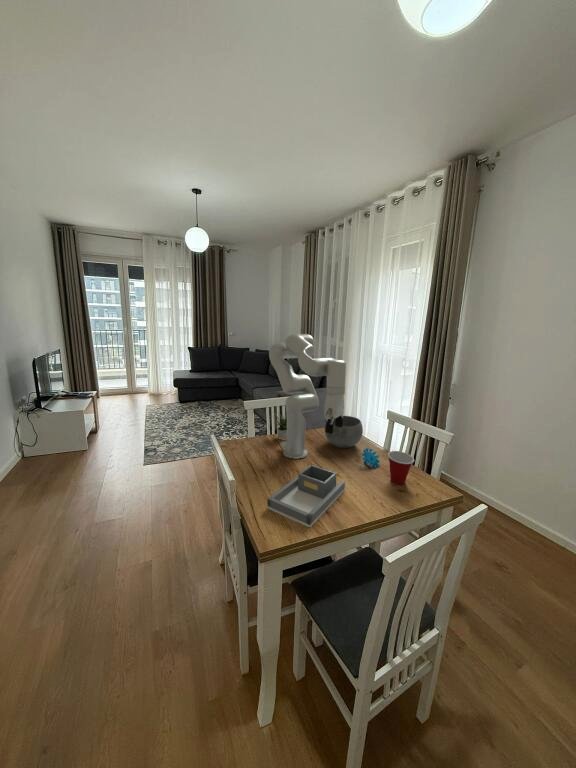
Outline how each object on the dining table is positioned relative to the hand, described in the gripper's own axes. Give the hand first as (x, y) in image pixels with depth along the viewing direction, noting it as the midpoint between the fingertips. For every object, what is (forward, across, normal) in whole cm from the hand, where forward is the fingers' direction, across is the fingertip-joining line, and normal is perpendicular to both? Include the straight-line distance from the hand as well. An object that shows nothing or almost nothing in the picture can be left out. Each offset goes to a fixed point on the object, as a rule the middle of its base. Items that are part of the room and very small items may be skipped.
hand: (334, 429), depth 129 cm
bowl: (+22, -37, -11) cm, 45 cm away
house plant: (+21, -25, -44) cm, 55 cm away
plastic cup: (+24, -16, +24) cm, 37 cm away
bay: (+23, +19, -2) cm, 30 cm away
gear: (+23, -24, +9) cm, 35 cm away
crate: (+22, +12, -1) cm, 25 cm away
